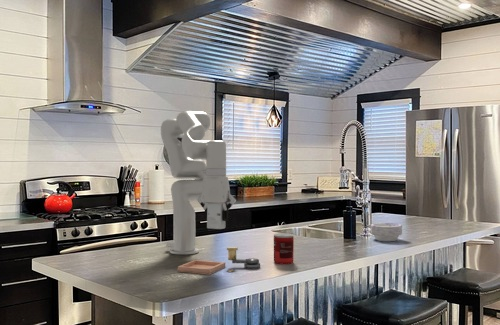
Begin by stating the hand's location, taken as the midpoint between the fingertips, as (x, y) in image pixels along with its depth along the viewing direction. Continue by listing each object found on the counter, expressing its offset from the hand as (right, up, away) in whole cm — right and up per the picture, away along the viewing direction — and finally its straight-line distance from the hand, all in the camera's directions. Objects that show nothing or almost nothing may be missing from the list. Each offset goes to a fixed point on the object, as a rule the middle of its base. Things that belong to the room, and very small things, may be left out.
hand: (216, 219), depth 192 cm
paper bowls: (+81, -17, +61) cm, 103 cm away
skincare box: (0, -3, 0) cm, 3 cm away
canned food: (+26, -18, +7) cm, 32 cm away
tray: (-5, -18, -5) cm, 19 cm away
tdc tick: (+6, -18, -9) cm, 21 cm away
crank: (+10, -16, -2) cm, 19 cm away
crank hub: (+14, -18, -2) cm, 22 cm away
